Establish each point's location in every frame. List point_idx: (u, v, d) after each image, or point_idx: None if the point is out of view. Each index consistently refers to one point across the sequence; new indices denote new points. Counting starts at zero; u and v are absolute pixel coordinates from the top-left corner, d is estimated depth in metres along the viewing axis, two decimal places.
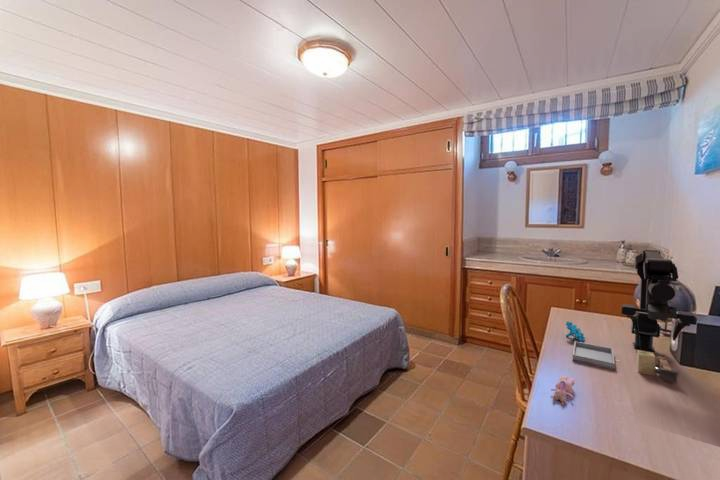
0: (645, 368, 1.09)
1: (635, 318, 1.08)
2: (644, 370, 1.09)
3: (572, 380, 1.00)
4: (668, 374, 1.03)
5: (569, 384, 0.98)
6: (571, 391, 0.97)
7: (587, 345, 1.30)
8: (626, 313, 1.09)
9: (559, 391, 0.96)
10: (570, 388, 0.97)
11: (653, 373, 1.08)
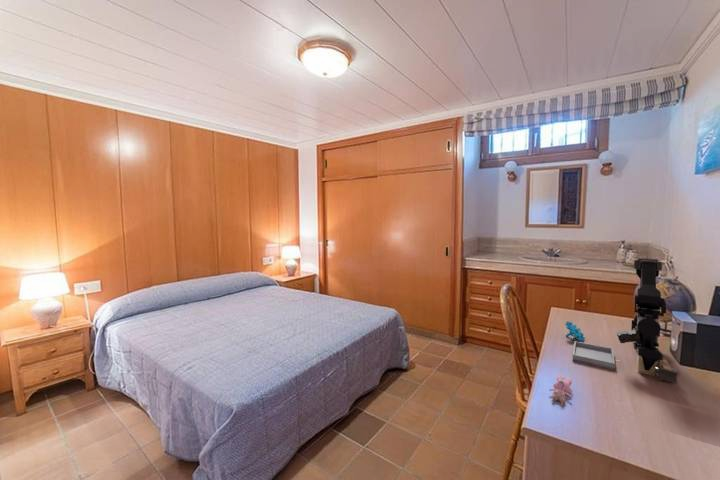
0: None
1: (636, 346, 1.14)
2: (644, 370, 1.09)
3: (569, 379, 1.01)
4: (668, 374, 1.03)
5: (567, 384, 0.98)
6: (569, 391, 0.97)
7: (587, 345, 1.30)
8: None
9: (558, 391, 0.95)
10: (568, 388, 0.97)
11: (653, 373, 1.08)
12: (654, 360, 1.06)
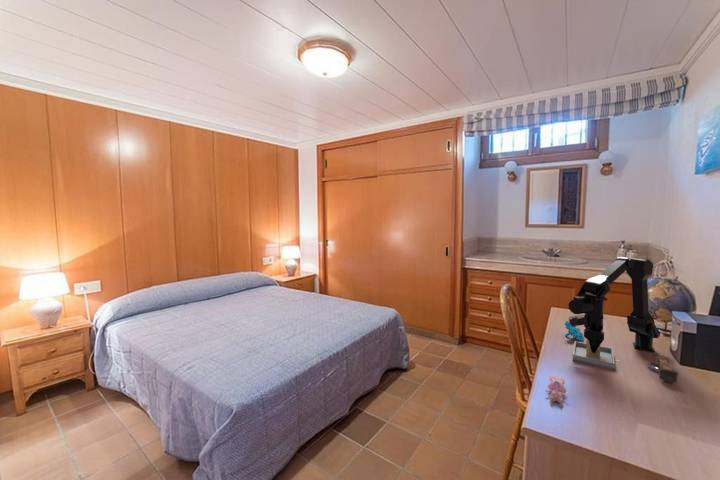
0: None
1: None
2: (591, 354, 1.21)
3: (562, 379, 1.01)
4: (668, 374, 1.03)
5: (561, 383, 0.98)
6: (564, 390, 0.97)
7: None
8: None
9: (555, 392, 0.95)
10: (563, 387, 0.98)
11: (598, 356, 1.20)
12: (599, 343, 1.16)
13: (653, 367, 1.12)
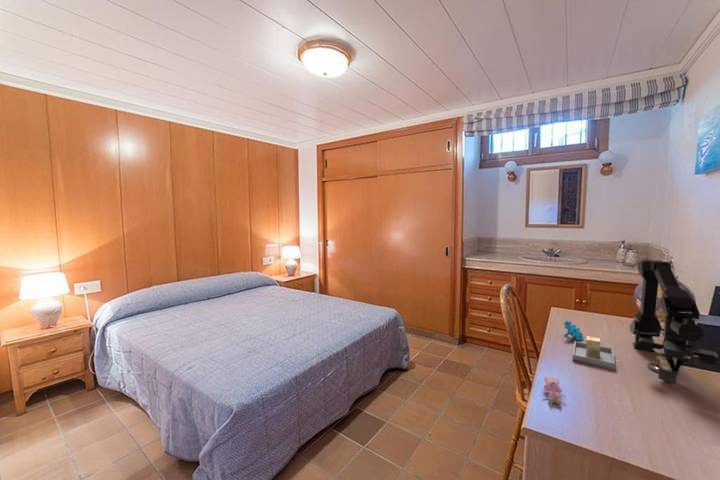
0: (592, 352, 1.21)
1: (670, 357, 1.03)
2: (591, 354, 1.21)
3: (556, 378, 1.01)
4: (667, 374, 1.03)
5: (557, 383, 0.98)
6: (560, 390, 0.97)
7: None
8: (642, 348, 1.08)
9: (553, 393, 0.94)
10: (559, 388, 0.98)
11: (598, 356, 1.20)
12: None
13: (653, 367, 1.12)
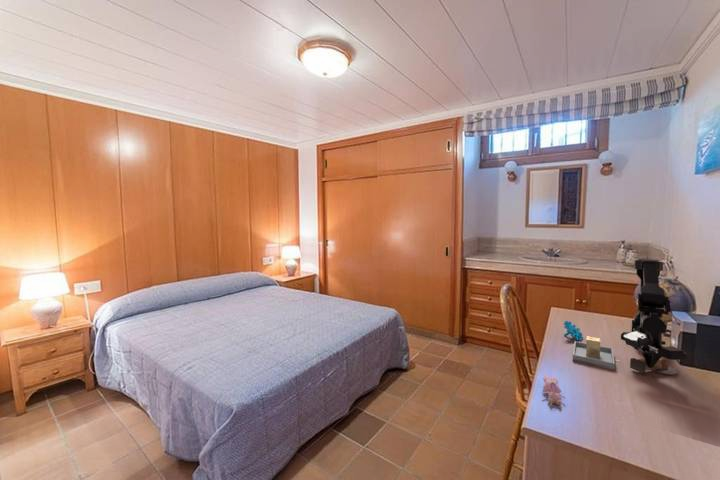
0: (592, 352, 1.21)
1: (641, 349, 1.09)
2: (591, 354, 1.21)
3: (555, 379, 1.01)
4: (636, 364, 1.10)
5: (556, 384, 0.98)
6: (559, 391, 0.97)
7: None
8: (622, 338, 1.16)
9: (553, 394, 0.94)
10: (558, 388, 0.97)
11: (598, 356, 1.20)
12: (660, 356, 1.07)
13: None
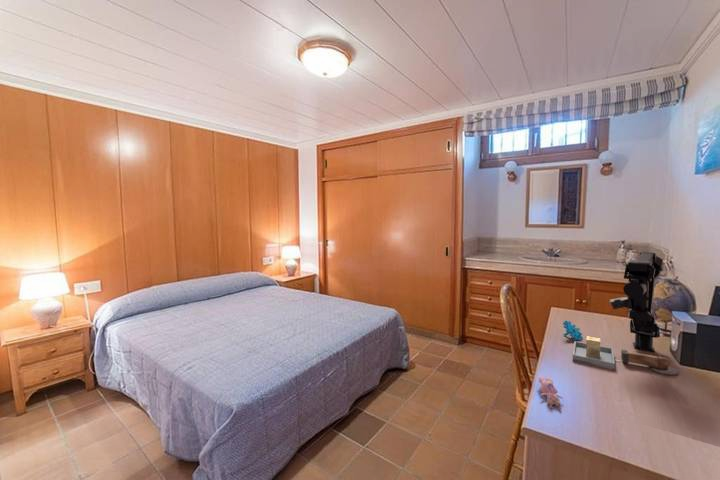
0: (592, 352, 1.21)
1: None
2: (591, 354, 1.21)
3: (550, 379, 1.01)
4: (622, 354, 1.18)
5: (552, 384, 0.98)
6: (556, 391, 0.97)
7: None
8: None
9: (551, 395, 0.93)
10: (555, 388, 0.97)
11: (598, 356, 1.20)
12: (643, 321, 1.15)
13: (653, 367, 1.12)
